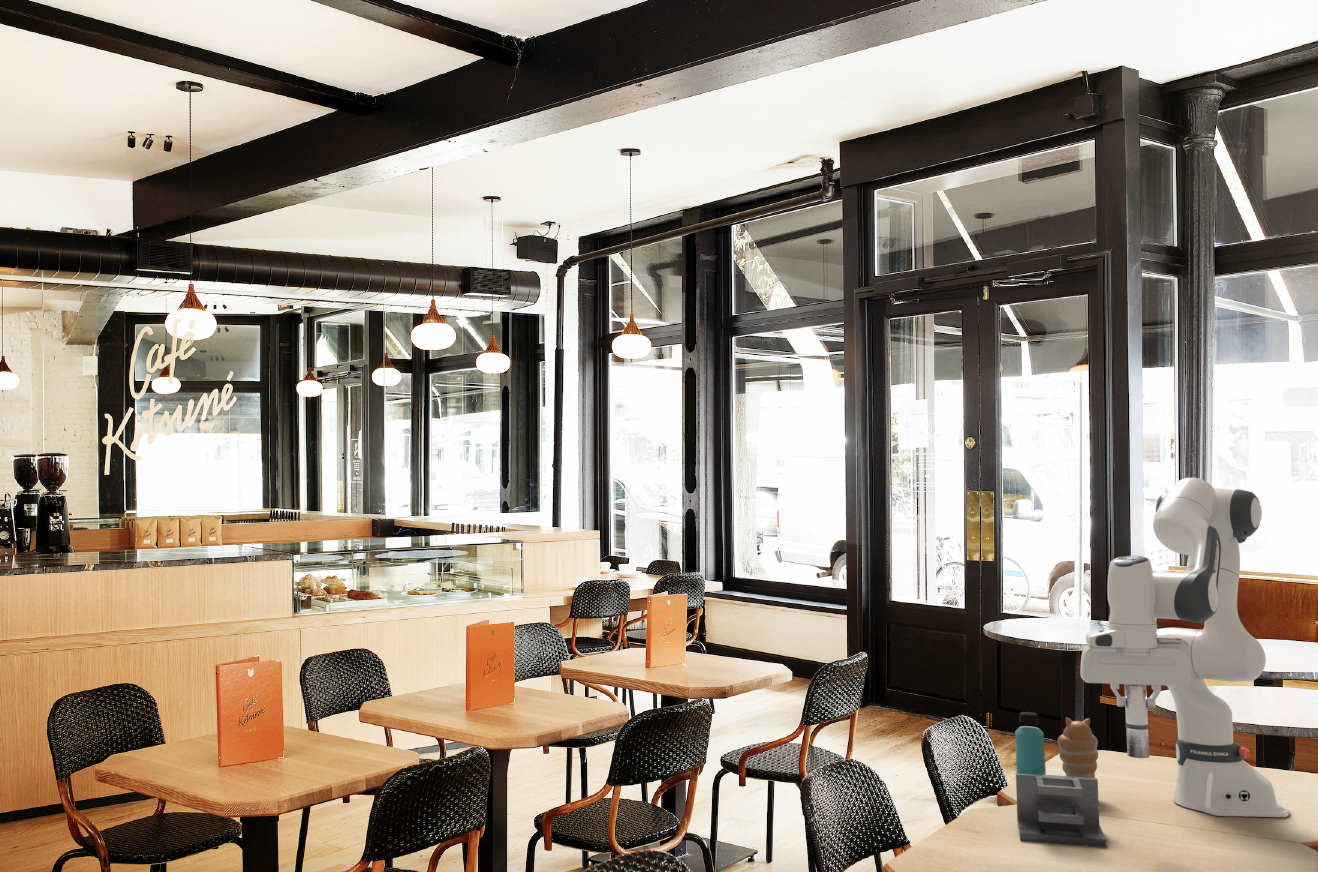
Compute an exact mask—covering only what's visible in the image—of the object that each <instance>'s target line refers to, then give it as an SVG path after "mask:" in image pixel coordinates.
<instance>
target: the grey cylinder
mask: <svg viewBox="0 0 1318 872" xmlns="http://www.w3.org/2000/svg"><path fill="white" fill-rule="evenodd" d="M1123 686H1124V697H1125V698H1126V702H1125V703H1126V707H1125V729H1126V732H1125V733H1126V750H1127V751H1126V752H1127V753H1126V755H1127V756H1128V757H1130V758H1133V759H1149V758H1150V743H1149V742H1150V741H1149V738H1150V737H1149V736H1150V734H1149V728H1150V727H1149V717H1148V713H1149V712H1148V708H1147V698H1148V696H1147V694H1148V692H1147V691H1148V690H1147V685H1136V684H1123Z"/></svg>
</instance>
